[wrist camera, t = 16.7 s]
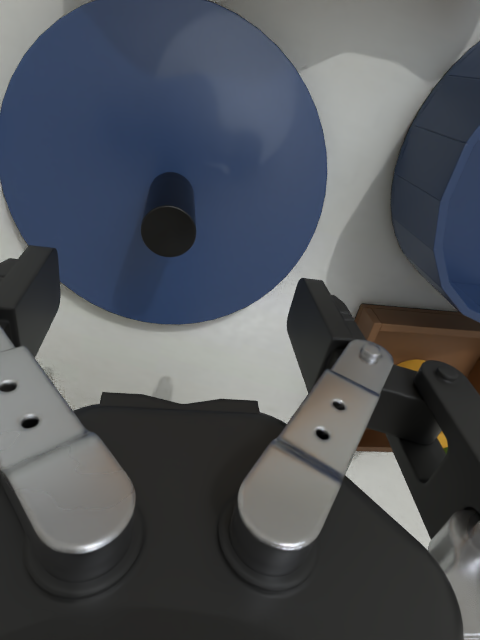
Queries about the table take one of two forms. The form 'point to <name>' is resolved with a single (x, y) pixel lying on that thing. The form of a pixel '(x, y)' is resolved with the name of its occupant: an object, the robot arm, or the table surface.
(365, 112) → the table surface
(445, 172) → the pot
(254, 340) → the table surface
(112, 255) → the lid
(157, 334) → the table surface
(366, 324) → the tray
